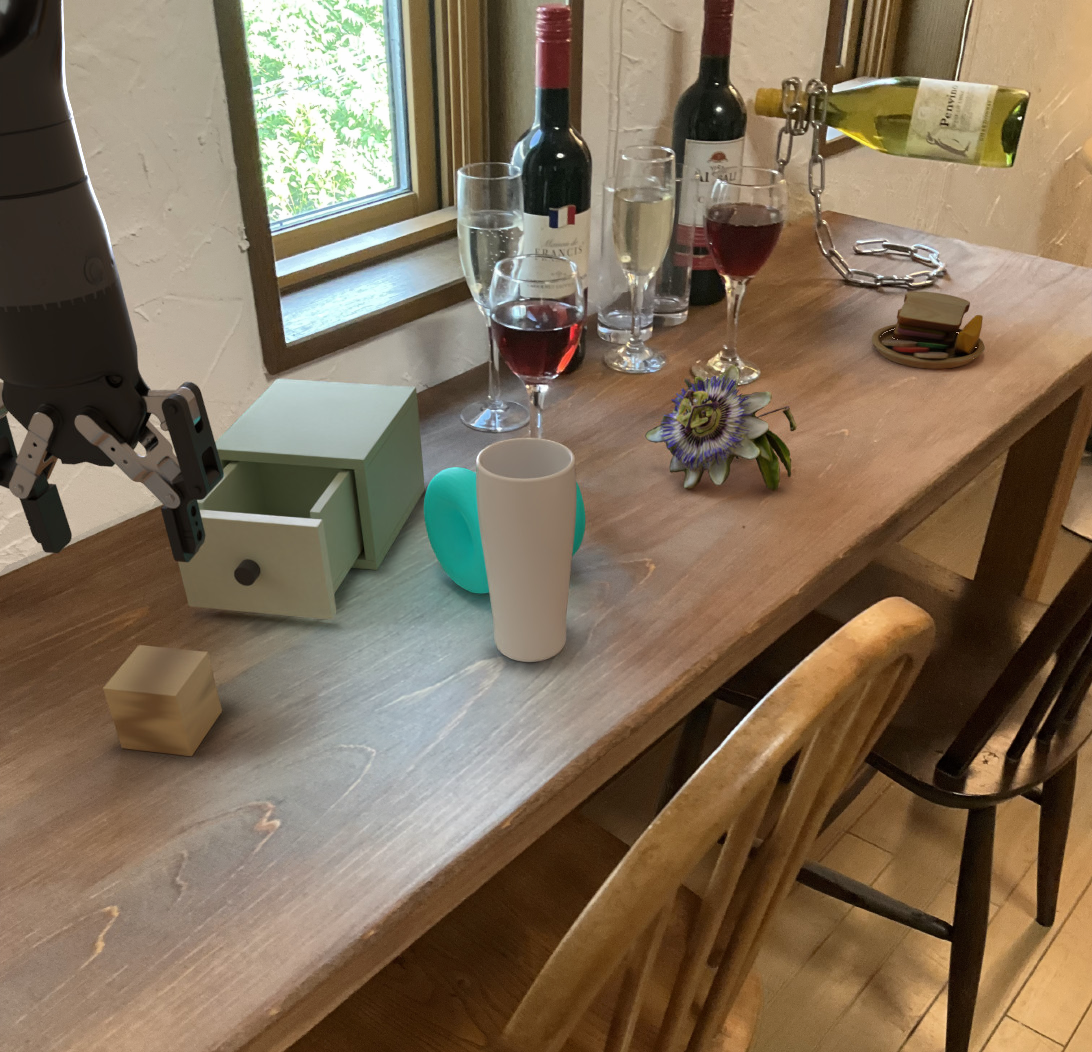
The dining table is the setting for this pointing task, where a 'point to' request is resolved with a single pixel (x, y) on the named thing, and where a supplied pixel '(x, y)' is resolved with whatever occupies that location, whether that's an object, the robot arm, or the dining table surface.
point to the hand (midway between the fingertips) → (122, 551)
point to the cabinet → (341, 446)
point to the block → (163, 700)
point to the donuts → (467, 527)
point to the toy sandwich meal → (931, 333)
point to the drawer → (276, 540)
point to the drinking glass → (527, 542)
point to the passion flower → (721, 431)
